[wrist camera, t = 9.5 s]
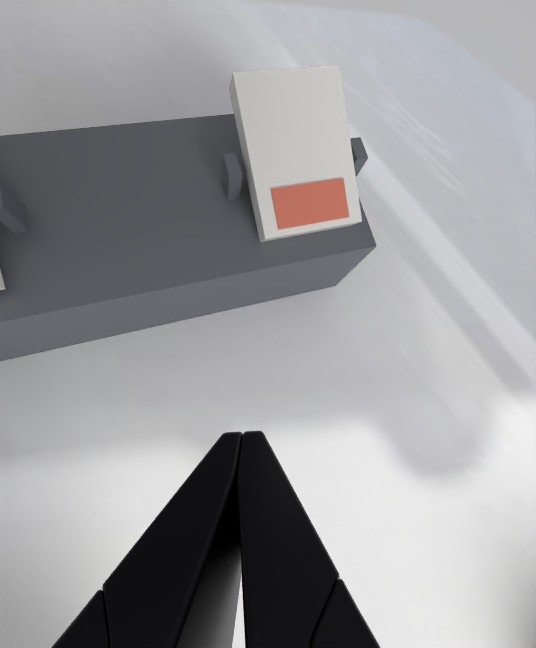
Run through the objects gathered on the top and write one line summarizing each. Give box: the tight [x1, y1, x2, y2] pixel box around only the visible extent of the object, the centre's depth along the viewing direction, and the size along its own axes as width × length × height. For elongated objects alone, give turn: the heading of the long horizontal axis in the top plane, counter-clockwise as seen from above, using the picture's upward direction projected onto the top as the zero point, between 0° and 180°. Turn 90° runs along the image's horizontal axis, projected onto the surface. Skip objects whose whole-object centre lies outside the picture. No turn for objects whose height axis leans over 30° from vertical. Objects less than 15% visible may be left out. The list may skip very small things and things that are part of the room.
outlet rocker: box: [229, 65, 362, 242], centre depth 15 cm, size 7×5×1 cm
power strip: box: [0, 114, 376, 361], centre depth 17 cm, size 9×23×8 cm, turn 106°
